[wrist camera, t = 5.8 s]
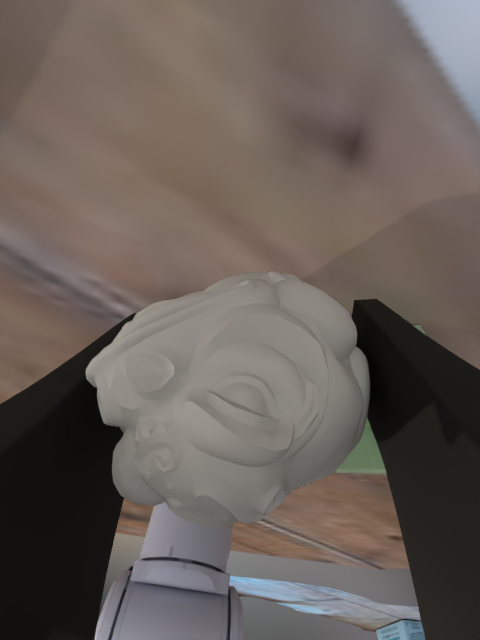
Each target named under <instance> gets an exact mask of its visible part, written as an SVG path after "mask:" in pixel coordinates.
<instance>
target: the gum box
mask: <svg viewBox="0 0 480 640" xmlns="http://www.w3.org/2000/svg"><path fill="white" fill-rule="evenodd" d="M376 632H377V636H378V640H425V636H424V631H423V626H422V622H419V621H411V620H401V621H399V622H397V623H394V624H391V625H388V626H385V627H383V628H380V629H376Z"/></svg>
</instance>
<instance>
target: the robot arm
mask: <svg viewBox="0 0 480 640" xmlns="http://www.w3.org/2000/svg"><path fill="white" fill-rule="evenodd" d="M136 314H137V313H134V314H132V315H130V316H129V317H127V318H126V319H124V320H123V321H121V322H120V323H119V324H117V325H116V326H114V327H113V328H112V329H110V330H109V331H108V332H106V333H105V334H104V335H102V336H101V337H100V338H98V339H97V340H96V341H94V342H93V343H92V344H90V345H89V346H88V347H86V348H85V349H83V350H82V351H81V352H79V353H78V354H77V355H75V356H74V357H72V358H71V359H69V360H68V361H67V362H65V363H64V364H62V365H61V366H59V367H58V368H57V369H55V370H54V371H52V372H51V373H49V374H48V375H46V376H45V377H44V378H42V379H40V380H39V381H37V382H36V383H34V384H33V385H31V386H30V387H28V388H26V389H25V390H23V391H21V392H20V393H18V394H16V395H15V396H13V397H11V398H10V399H8V400H6V401H5V402H3V403H1V404H0V640H243V611H242V603H241V599H240V597H239V595H238V594H237V591H236V589H235V587H233V586H229V579H230V574H227V573H226V563H227V560H228V557H229V553H230V545H231V533H232V526H231V528H228V529H225V530H218V529H210V528H206V527H205V526H201V525H198V524H195V523H192V522H190V521H187V520H185V519H182V518H180V517H179V516H177V515H176V514H175V513H174V512H172V511H171V510H170V509H169V507H168V505H167V503H166V502H164V503H162V504H158V505H155V506H154V508H153V512H152V515H151V519H150V522H149V526H148V529H147V533H146V536H145V541H144V543H143V547H142V551H141V554H140V558H139V560H135V564H134V567H133V571H128V570H126V571H124V572H123V573H122V575H120V576H119V577H118V578H117V579H116V580H115V581H114V583H113V584H112V587H111V589H110V591H109V594H108V596H107V598H106V601H105V604H104V606H103V609H102V612H101V615H100V618H99V621H98V616H99V610H100V605H101V599H102V594H103V589H104V583H105V578H106V573H107V568H108V564H109V559H110V554H111V550H112V545H113V540H114V536H115V532H116V528H117V524H118V520H119V516H120V512H121V508H122V504H123V500H124V497H122V496H121V495H120V493H119V492H118V490H117V488H116V486H115V485H114V483H113V475H112V461H113V451H114V449H115V447H116V445H117V443H118V442H119V441H120V440H121V438H122V437H123V434H124V433H123V432H122V430H121V429H120V427H115V426H111V425H106V424H105V423H103V420H102V417H101V413H100V410H99V406H98V400H97V388H96V387H94V386H93V385H92V384H91V383H90V382H89V381H88V380H87V379H86V368H87V367H88V365H89V363H90V362H91V360H92V359H93V358H94V357H96V356H97V355H98V354H99V353H100V352H101V351H102V350H103V349H104V348H105V347H107V346H108V345H110V344H111V343H113V340H114V339H115V337H116V336H117V335H118V333H119V332H120V331H121V330H122V327H123V326H124V325H125V324H126V323H127V322H129V321H133V319H134V317H135V315H136ZM352 320H353V322H354V324H355V326H356V330H357V343H356V347H358V348H359V349H360V350H361V351H362V352H363V353H364V355H365V356H366V358H367V361H368V367H369V376H370V399H369V407H368V415H367V418H368V421H369V424H370V426H371V429H372V432H373V434H374V437H375V440H376V443H377V445H378V448H379V451H380V454H381V457H382V460H383V463H384V466H385V470H386V474H387V477H388V481H389V485H390V489H391V493H392V496H393V500H394V504H395V508H396V512H397V516H398V520H399V524H400V528H401V532H402V537H403V541H404V545H405V549H406V553H407V558H408V562H409V567H410V571H411V575H412V580H413V584H414V589H415V593H416V597H417V602H418V607H419V612H420V617H421V622H422V626H423V631H424V636H425V640H480V370H479V369H477V368H475V367H474V366H472V365H471V364H469V363H467V362H466V361H464V360H463V359H461V358H460V357H458V356H456V355H455V354H453V353H452V352H450V351H449V350H447V349H446V348H444V347H443V346H441V345H440V344H438V343H437V342H435V341H434V340H432V339H431V338H430V337H428V336H427V335H425V334H424V333H422V332H421V331H420V330H418V329H417V328H415V327H414V326H413V325H411V324H410V323H409V322H407V321H406V320H405V319H403V318H402V317H401V316H399V315H398V314H396V313H395V312H394V311H392V310H391V309H390V308H388V307H387V306H386V305H384V304H383V303H381V302H380V301H378V300H377V299H368V300H354V306H353V313H352ZM97 621H98V624H97Z"/></svg>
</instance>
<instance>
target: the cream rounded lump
mask: <svg viewBox="0 0 480 640" xmlns="http://www.w3.org/2000/svg"><path fill="white" fill-rule="evenodd" d="M356 343H357V330H356V326H355V324H354V322H353V320H352V318H351V316H350V314H349V313H348V312H347V310H346V309H345V308H344V307H343V306H342V305H341V304H339V303H338V302H337V301H336V300H335V299H334V298H332V297H331V296H329V295H328V294H326V293H325V292H324V291H322V290H321V289H319V288H317V287H315V286H313V285H310V284H308V283H305V282H303V281H300V280H299V279H298V278H297V277H295V276H294V275H290V274H287V273H281V274H279V273H276V272H274V271H269V272H268V273H266V272H250V273H242V274H237V275H234V276H230V277H227V278H225V279H222V280H220V281H218V282H216V283H214V284H213V285H211V286H210V287H208V288H207V289H205V290H204V291H202V292H194V293H191V294H188V295H185V296H182V297H180V298H177V299H172V300H165V301H160V302H157V303H153V304H151V305H149V306H148V307H146V308H145V309H143V310H141V311H140V312H138V313H137V314H136V315H135V317H134V319H133V321H129V322H127V323H126V324H125V325H124V326H123V327H122V330H121V331H120V332H119V333H118V335H117V336H116V337H115V339H114V340H113V343H111V344H110V345H108V346H107V347H105V348H104V349H103V350H102V351H101V352H100V353H99V354H98V355H97V356H96V357H94V358H93V359H92V360H91V362H90V363H89V365H88V367H87V368H86V379H87V380H88V381H89V382H90V383H91V384H92V385H93V386H94V387H96V388H97V400H98V406H99V410H100V413H101V417H102V420H103V423H105V424H106V425H111V426H115V427H120V429H121V430H122V432H123V433H124V434H123V437H122V438H121V440H120V441H119V442H118V443H117V445H116V447H115V449H114V451H113V461H112V475H113V483H114V485H115V486H116V488H117V490H118V492H119V493H120V495H121V496H122V497H124V498H126V499H128V500H130V501H132V502H134V503H135V504H137V505H138V504H142V505H151V506H155V505H158V504H162V503H164V502H166V503H167V505H168V507H169V509H170V510H171V511H172V512H174V513H175V514H176V515H177V516H179V517H180V518H182V519H185V520H187V521H190V522H192V523H195V524H198V525H201V526H205V527H206V528H210V529H218V530H225V529H228V528H231V526H232V524H233V523H235V522H237V521H240V522H244V523H247V524H249V523H253V522H256V521H259V520H261V519H263V518H264V517H265V516H266V515H268V514H269V513H270V512H271V511H273V510H274V509H275V508H276V507H278V506H279V505H280V504H282V502H283V500H284V498H285V496H286V495H288V494H290V493H291V492H292V491H293V490H295V489H298V488H299V487H301V486H306V485H307V484H311V483H312V482H315V481H317V480H320V479H322V478H326V477H327V476H328V475H330V474H332V473H334V472H335V471H336V469H338V468H339V466H340V465H341V464H342V463H343V462H344V461H345V459H346V458H347V456H348V455H349V454H350V453H351V452H352V451H353V450H354V448H355V447H356V446H357V444H358V443H359V442H360V440H361V437H362V434H363V431H364V428H365V424H366V419H367V415H368V407H369V399H370V376H369V367H368V361H367V358H366V356H365V355H364V353H363V352H362V351H361V350H360V349H359V348H358V347H356Z"/></svg>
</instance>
